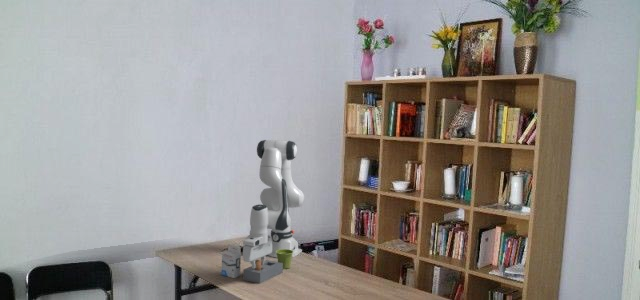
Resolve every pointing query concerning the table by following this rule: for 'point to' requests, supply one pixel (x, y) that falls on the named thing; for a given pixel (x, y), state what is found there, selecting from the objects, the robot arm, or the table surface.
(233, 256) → the ink box
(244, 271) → the hole block
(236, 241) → the table surface
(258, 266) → the peg
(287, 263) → the plant pot
